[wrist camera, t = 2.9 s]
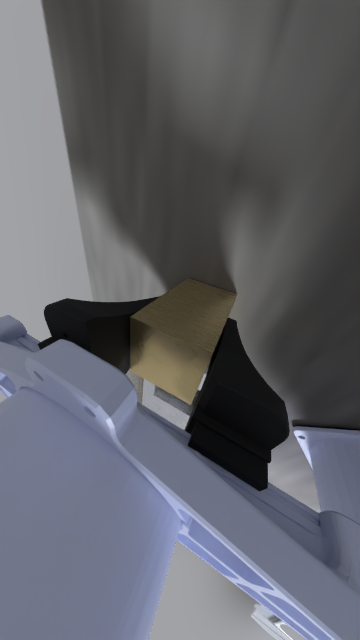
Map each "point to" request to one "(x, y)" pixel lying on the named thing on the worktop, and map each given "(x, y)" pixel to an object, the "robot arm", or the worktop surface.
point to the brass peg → (179, 336)
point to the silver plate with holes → (168, 403)
